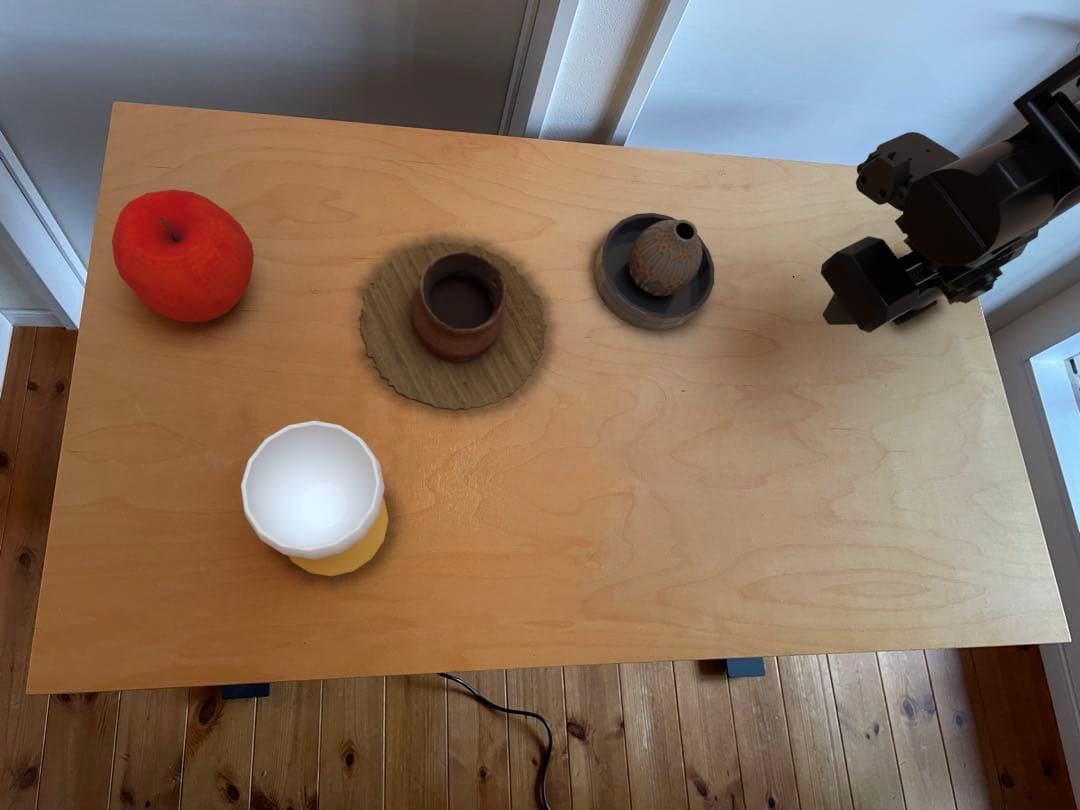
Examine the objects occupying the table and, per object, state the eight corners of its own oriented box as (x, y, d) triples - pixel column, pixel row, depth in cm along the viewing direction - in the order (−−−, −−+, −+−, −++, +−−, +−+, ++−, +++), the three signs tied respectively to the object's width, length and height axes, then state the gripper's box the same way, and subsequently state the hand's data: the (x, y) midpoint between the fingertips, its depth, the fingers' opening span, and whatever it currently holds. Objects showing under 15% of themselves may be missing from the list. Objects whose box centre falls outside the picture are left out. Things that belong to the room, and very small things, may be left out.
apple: (270, 251, 64) (243, 169, 53) (260, 347, 61) (229, 282, 49) (156, 242, 62) (102, 155, 51) (139, 341, 59) (78, 272, 47)
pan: (663, 214, 74) (674, 197, 71) (722, 303, 72) (736, 290, 69) (573, 252, 70) (580, 236, 68) (632, 348, 68) (642, 336, 65)
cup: (280, 470, 58) (240, 415, 43) (388, 468, 60) (386, 415, 45) (274, 579, 55) (228, 560, 40) (387, 573, 57) (384, 554, 42)
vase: (692, 299, 71) (730, 256, 63) (633, 311, 69) (665, 268, 61) (670, 242, 73) (705, 193, 64) (612, 252, 71) (640, 203, 63)
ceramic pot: (548, 255, 70) (564, 216, 63) (543, 418, 64) (560, 394, 57) (370, 231, 67) (367, 188, 60) (348, 401, 61) (342, 373, 54)
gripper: (1024, 64, 49) (882, 192, 64) (846, 140, 43) (734, 262, 58) (1123, 184, 47) (952, 289, 62) (950, 281, 41) (807, 371, 56)
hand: (863, 299), depth 60 cm, fingers open, 9 cm apart
